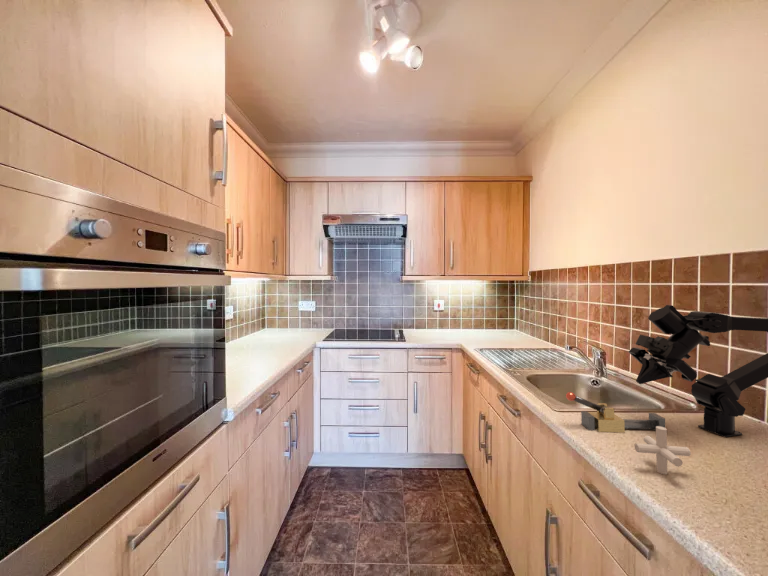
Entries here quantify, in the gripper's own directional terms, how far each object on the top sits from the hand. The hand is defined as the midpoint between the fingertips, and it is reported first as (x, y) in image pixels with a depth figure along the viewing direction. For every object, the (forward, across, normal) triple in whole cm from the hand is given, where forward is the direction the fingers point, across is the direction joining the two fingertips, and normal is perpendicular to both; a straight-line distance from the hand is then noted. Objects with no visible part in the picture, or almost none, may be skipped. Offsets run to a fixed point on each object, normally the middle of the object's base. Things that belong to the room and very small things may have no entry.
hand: (637, 382), depth 91 cm
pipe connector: (+16, +22, +3) cm, 28 cm away
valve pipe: (+13, 0, +6) cm, 14 cm away
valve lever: (+12, 0, +1) cm, 12 cm away
